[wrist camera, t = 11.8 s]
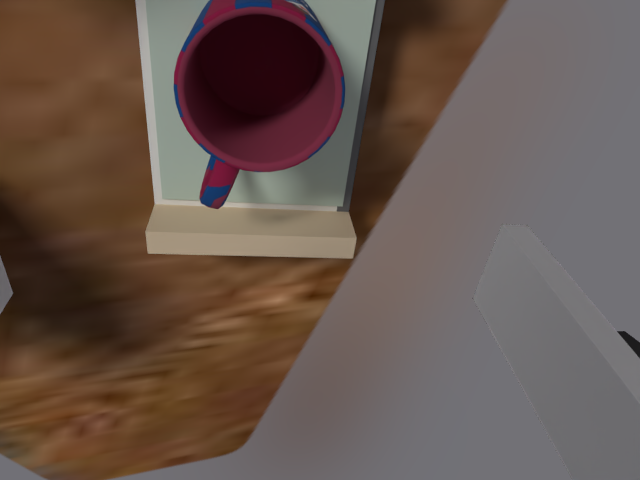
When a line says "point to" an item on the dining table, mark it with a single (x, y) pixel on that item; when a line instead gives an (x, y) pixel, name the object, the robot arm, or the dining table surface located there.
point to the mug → (257, 89)
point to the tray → (251, 187)
